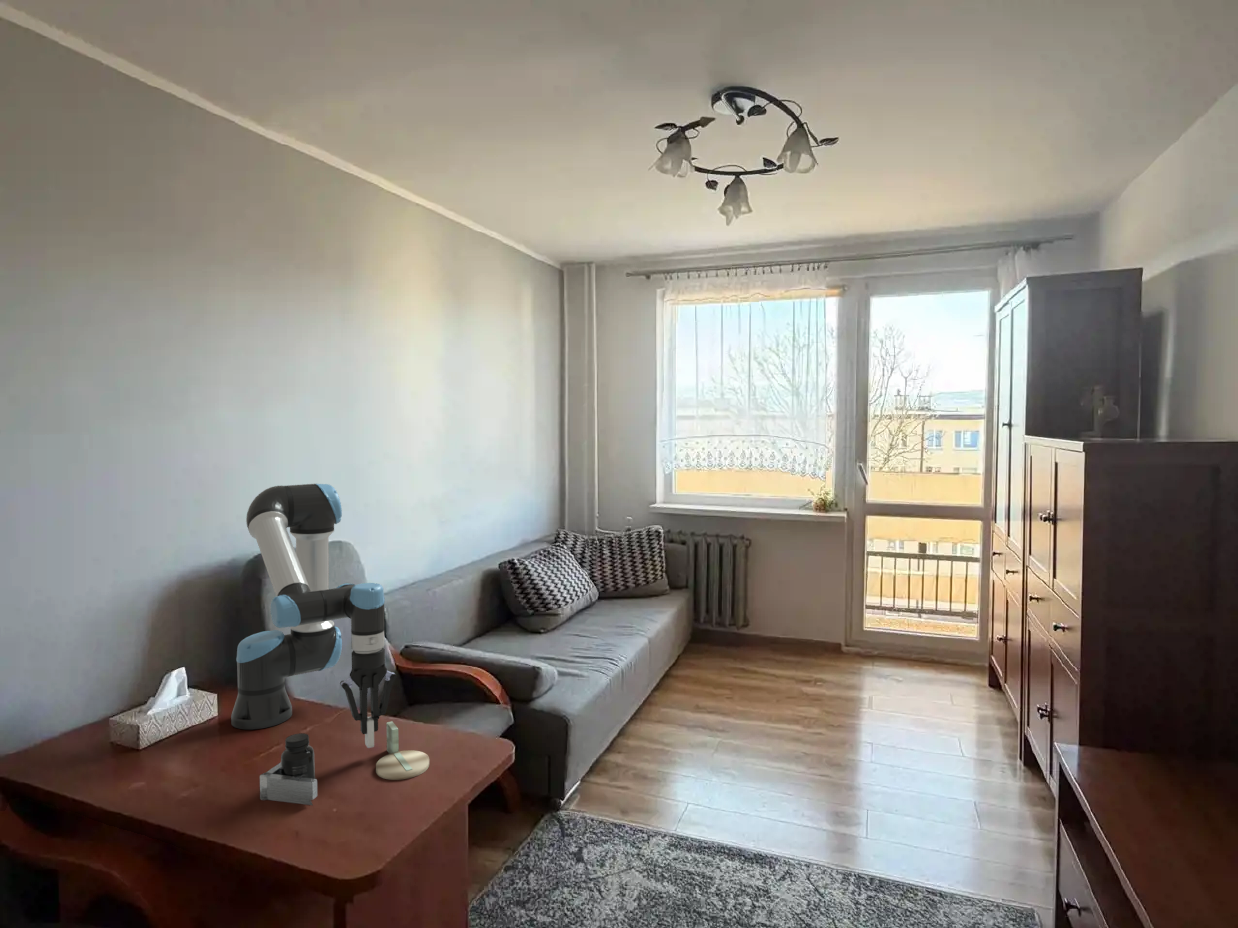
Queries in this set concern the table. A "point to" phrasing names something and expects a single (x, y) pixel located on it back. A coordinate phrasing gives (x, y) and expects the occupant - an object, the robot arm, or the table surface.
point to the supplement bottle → (298, 757)
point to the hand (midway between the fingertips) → (369, 745)
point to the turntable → (400, 759)
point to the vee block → (287, 787)
